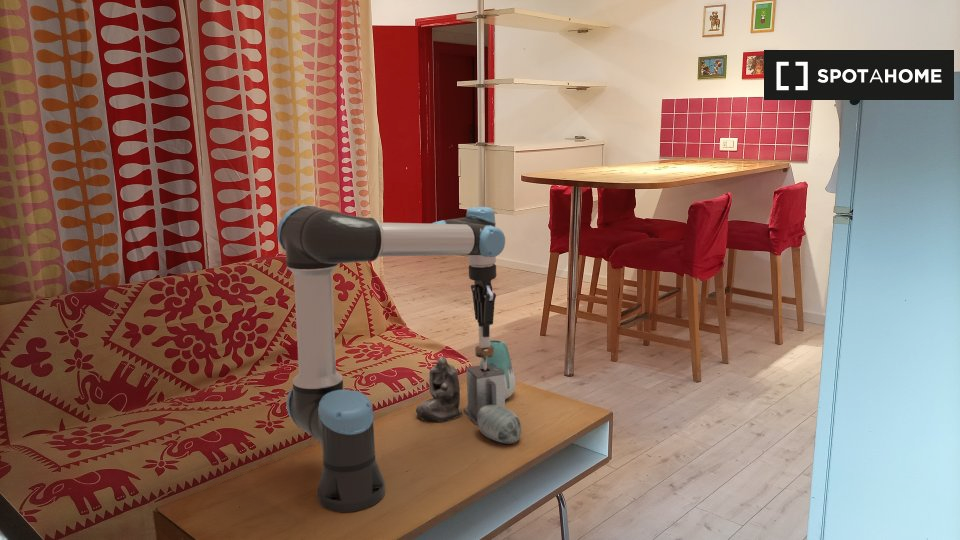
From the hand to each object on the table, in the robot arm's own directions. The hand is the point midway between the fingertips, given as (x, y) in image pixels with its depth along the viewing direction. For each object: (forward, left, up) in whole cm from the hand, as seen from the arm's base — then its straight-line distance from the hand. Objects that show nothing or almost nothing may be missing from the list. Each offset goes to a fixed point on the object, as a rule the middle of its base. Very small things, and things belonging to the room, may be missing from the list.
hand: (484, 346), depth 201 cm
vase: (+8, +11, -21) cm, 25 cm away
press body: (0, 0, -20) cm, 20 cm away
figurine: (-12, +5, -21) cm, 24 cm away
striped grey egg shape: (-2, -15, -21) cm, 26 cm away
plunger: (0, 0, -13) cm, 13 cm away
